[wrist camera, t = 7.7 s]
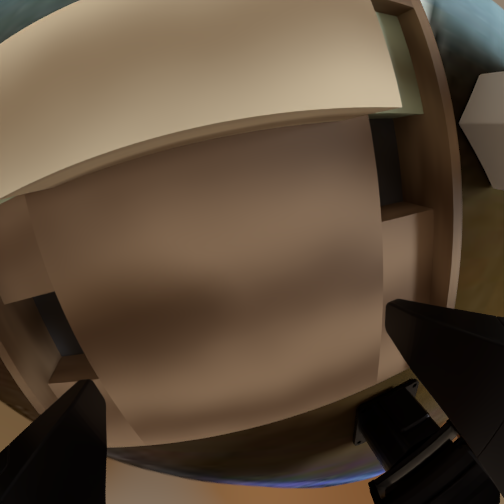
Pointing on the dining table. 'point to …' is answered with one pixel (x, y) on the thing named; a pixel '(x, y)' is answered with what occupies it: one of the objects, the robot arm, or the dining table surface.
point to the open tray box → (240, 263)
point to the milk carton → (487, 125)
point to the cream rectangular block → (179, 79)
